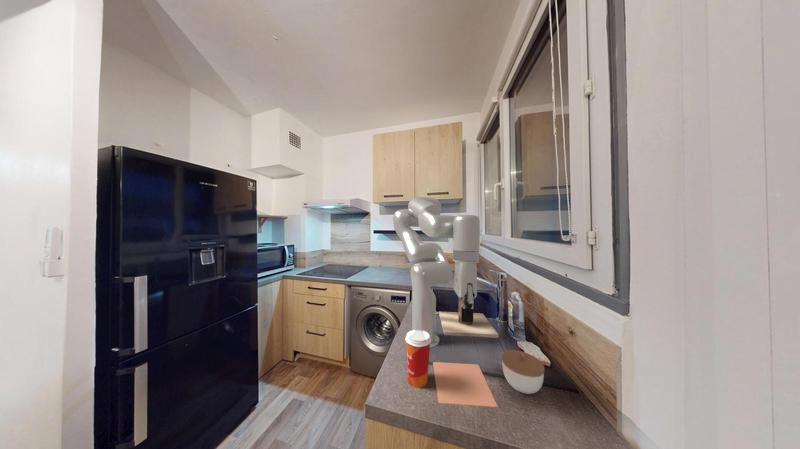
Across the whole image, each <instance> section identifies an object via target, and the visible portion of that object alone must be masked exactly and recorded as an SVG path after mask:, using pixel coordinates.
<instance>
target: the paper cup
mask: <svg viewBox="0 0 800 449" xmlns="http://www.w3.org/2000/svg"><path fill="white" fill-rule="evenodd" d="M404 339H405V342H406V364H407V366H406V369H407V381H408V384H409V385H410V386H412V387H413V388H424V387H425V386H427V383H428V376H429V363H430V361H429V360H430V352H431V351H430V343H431V338H430V335H429V334H428V333H427V332H426V331H421V330H418V331H417V330H412V329H411V330H410V331H408V332H407V333H406V336H405V338H404Z"/></svg>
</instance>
